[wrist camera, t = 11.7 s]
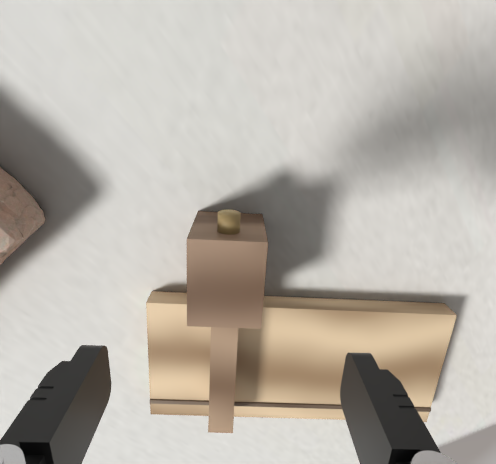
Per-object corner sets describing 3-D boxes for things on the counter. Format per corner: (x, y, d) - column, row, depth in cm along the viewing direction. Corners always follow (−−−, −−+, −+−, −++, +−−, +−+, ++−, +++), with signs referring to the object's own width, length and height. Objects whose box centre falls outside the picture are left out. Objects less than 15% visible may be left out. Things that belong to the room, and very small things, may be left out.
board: (151, 291, 24) (145, 303, 23) (444, 303, 25) (457, 316, 23) (155, 398, 27) (150, 415, 26) (416, 405, 28) (427, 423, 26)
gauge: (198, 195, 22) (186, 219, 17) (263, 198, 22) (269, 223, 17) (196, 390, 27) (186, 451, 22) (249, 392, 27) (251, 452, 22)
